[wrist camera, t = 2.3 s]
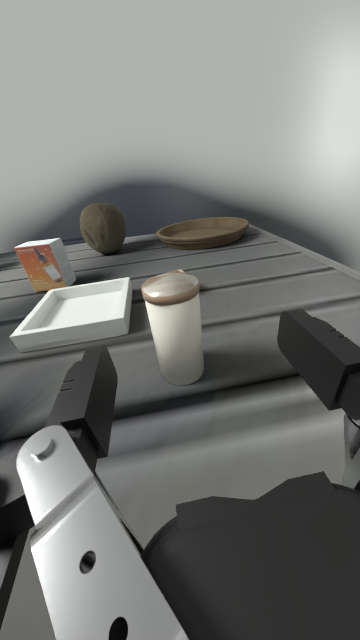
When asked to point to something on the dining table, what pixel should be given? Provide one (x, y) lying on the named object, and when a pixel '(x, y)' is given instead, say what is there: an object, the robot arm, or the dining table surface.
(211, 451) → the dining table surface
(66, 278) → the small box
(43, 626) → the dining table surface
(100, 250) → the cantaloupe
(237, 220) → the plant saucer
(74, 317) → the tray
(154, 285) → the canister
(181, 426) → the dining table surface
